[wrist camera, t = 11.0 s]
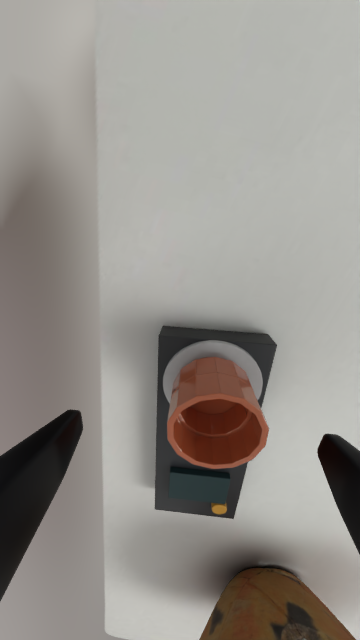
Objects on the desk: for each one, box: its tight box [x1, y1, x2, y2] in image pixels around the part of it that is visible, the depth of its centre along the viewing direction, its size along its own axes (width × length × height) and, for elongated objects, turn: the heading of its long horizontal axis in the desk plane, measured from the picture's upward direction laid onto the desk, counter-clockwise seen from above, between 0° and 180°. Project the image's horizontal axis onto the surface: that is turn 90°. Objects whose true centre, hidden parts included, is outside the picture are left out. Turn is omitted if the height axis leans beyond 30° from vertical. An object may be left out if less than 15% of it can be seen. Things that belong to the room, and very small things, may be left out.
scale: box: [155, 326, 277, 519], centre depth 20 cm, size 22×9×3 cm, turn 177°
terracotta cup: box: [167, 357, 269, 469], centre depth 14 cm, size 6×6×4 cm
